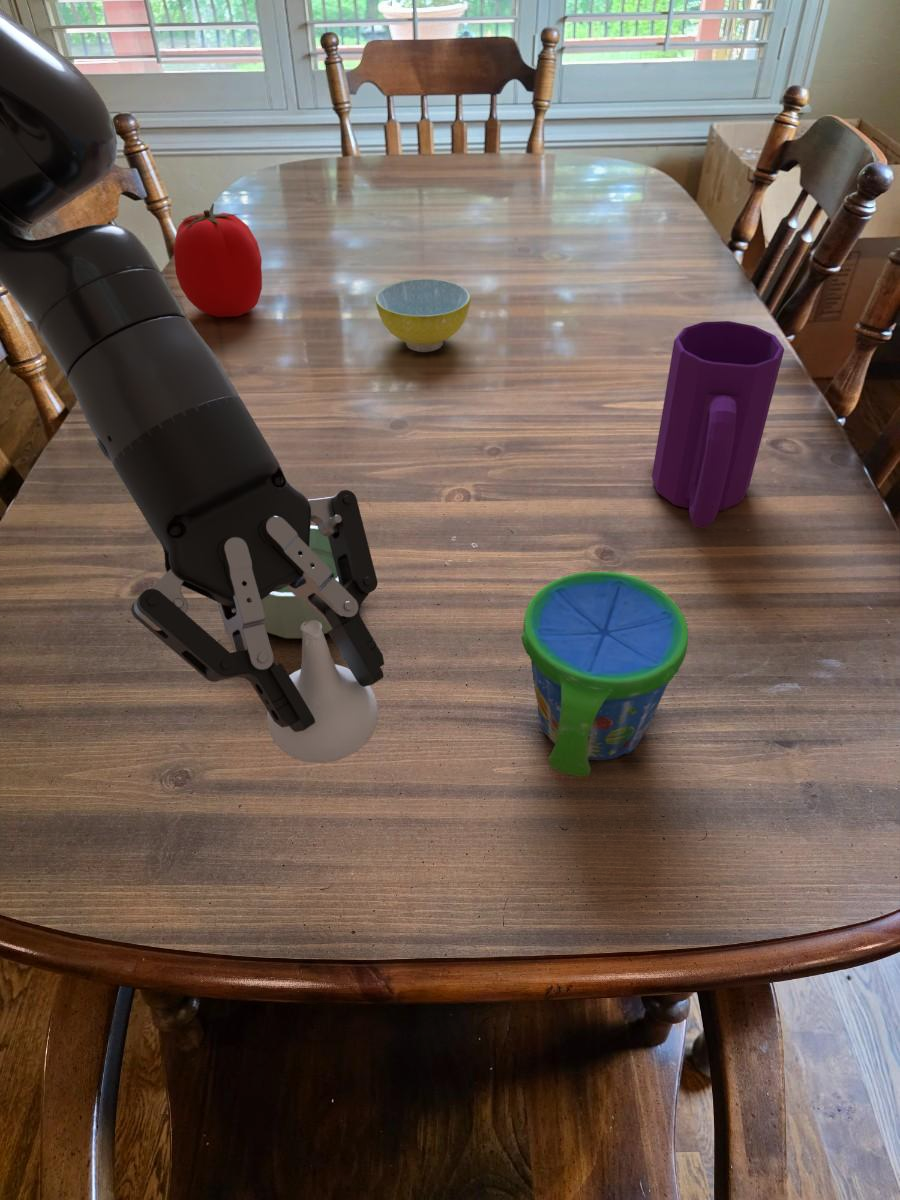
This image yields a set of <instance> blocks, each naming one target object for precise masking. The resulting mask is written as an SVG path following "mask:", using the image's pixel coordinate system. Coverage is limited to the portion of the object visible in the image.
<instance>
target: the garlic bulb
mask: <svg viewBox="0 0 900 1200" xmlns="http://www.w3.org/2000/svg"><path fill="white" fill-rule="evenodd" d="M307 622H308V623H306V622H303V623H302V624H301V626H300V629H301V631H302V635H303V638H301V639H302V640H301V641H302V643H301V665H300V669H298V670H296V671H293V672H292V673H291V674H288V675H289V676H290V678H291V680H292V681H293V683H294V685H295V686H296V688H297V690H298V691H299V693H300V695H301V696H302V698H303V700H304V701H305V703H306V705H307V706H308V708H309V710H310V711H311V713H312V715H313V717H314V719H315V723H314V724H313V725H311V726H310V727H308V728H307V729H305V730H304V731H299V732H294V731H293V730H292V729H291V728H290V726H288V727H283V728H282V727H281V726H279V725H278V724H277V723H275V722H274V720H273V719H272V717H271V715H270V714H269V712H268V711H267V715H266V718H267V719H266V720H267V726H268V730H269V734H270V736H271V738H272V740H273V742H274V743H275V744H276V746H277V747H278V748H279V749H280V750H281V751H282V752H283V753H285V754H286V755H287V756H289V757H292V758H294V759H296V760H297V761H298V760H299V761H301V762H306V763H310V764H311V763H314V764H325V763H332V762H336V761H340V760H343V759H345V758H348V757H350V756H352V755H354V754H356V753H357V752H359V751H360V750H361V749H362V748H363V747H364V746H365V745H367V743H368V742H369V741H370V740H371V738H372V736H373V735H374V732H375V731H376V728H377V725H378V718H379V717H378V716H379V707H378V703H377V698H376V695H375V693H374V691H373V689H372V688H371V685H369V686H365V687H362V686H361V685H360V684H359V683H358V682H357V680H356V679H355V677H354V675H353V674H352V672H351V670H350V669H349V667H345V666H342V665H339V664H335V662H334V659H333V656H332V653H331V651H330V648H329V644H328V643H327V642H328V641H327V640H326V637H325V634H323V632H322V624H321V623H320V622H318V621H316V620H314V621H313V620H312V621H307ZM304 624H305V625H304Z"/></svg>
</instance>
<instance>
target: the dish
mask: <svg viewBox="0 0 900 1200" xmlns="http://www.w3.org/2000/svg"><path fill="white" fill-rule="evenodd" d="M309 548H310V549H311V550H312V551H313V552H314V553H315V554H316V555H317V556H318V557H319V558H320V559H321V560H322V561H323V562H324V563H325V564H326V565H327V566H328V567H329V568H330V569H331V570H332V572H333V575H334V578H335V579H336V580H337V581H338V582H339V579H338V575H337V571H336V567H335V563H334V559H333V555H332V551H331V547H330V543H329V539H328V536H324V535H323V534H321V533H320V531H319V529H318V527H317V525H316V524H314V525H310V541H309ZM261 602H262V606H263V609H264V613H265V628H266V632H267V634H271V635H273V636H277V637H281V638H284V639H302V638H303V635H302V631H301V629H300V626H301V624H302V623H303V622H306V623H308V622H307V621H312V620H313V621H314V620H316V621H318V622H320V623H321V624H322V632H323V634H324V635H325V634H329V633H328V631H330V630H332V627H331V625H330V624H328V623H327V622H326V621H325V620H324V619H323V618H322V617H321V616H320V615H319V614H318V613H317V612H316V611H315V610H314V609H313V608H312V607H311V606H310V605H309V604H307V603H306V602H305V601H303V600H300V599H299V598H297V597H296V596H295V595H294V594H293V593H292V592H291V591H290V590H289V589H288V588H287V587H285V588H283V589H281V590H278V591H273V592H271V593H270V594H269V595H268V596H267V597H265V598H264V599H262V600H261ZM304 625H305V624H304Z"/></svg>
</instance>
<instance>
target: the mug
mask: <svg viewBox="0 0 900 1200" xmlns="http://www.w3.org/2000/svg"><path fill="white" fill-rule="evenodd" d="M784 352H785V347H784V346H783V344H782V343H781V341H780V340H779V338H778V337H777V336H776V335H775V334H773V333H771V332H769V331H766V330H764V329H762V328H761V327H758V326H756V325H753V324H747V323H741V322H735V321H731V320H721V321H718V320H717V321H701V322H698V323H695V324H691V325H689V326H687V327H683V328H682V329H681V331H680V332H679V334H678V335H677V336H676V337H675V339H674V340H673V346H672V352H671V358H670V363H669V370H668V376H667V382H666V388H665V394H664V398H663V399H664V400H663V406H662V412H661V418H660V423H659V430H658V436H657V443H656V448H655V454H654V460H653V466H652V473H651V479H652V482H653V485H654V487H655V489H656V493H657V494H659V495H660V496H661V497H663V498H664V499H666V500H667V501H669V502H670V503H671V504H672V505H674V506H677V507H680V508H685V509H689V510H688V512H689V519H690V522H691V524H692V525H693V526H694V527H697V528H700V529H701V528H707V527H709V526H710V525H711V524H713V522H714V520H715V519H716V517H717V515H718V512H719V511H724V510H727V509H729V508H731V507H734V506H736V505H738V504H740V503H742V502H743V500H744V498H745V495H746V493H747V492H748V489H749V487H750V485H751V480H752V477H753V473H754V469H755V466H756V461H757V458H758V453H759V450H760V445H761V441H762V438H763V434H764V430H765V427H766V422H767V419H768V414H769V410H770V406H771V403H772V399H773V395H774V391H775V387H776V384H777V380H778V376H779V372H780V368H781V364H782V360H783V356H784Z"/></svg>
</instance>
